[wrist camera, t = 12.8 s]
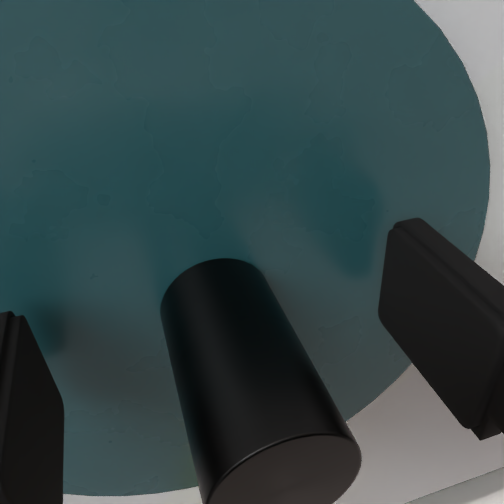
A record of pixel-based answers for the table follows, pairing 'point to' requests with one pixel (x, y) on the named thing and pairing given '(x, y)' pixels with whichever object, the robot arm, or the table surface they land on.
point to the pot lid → (223, 226)
